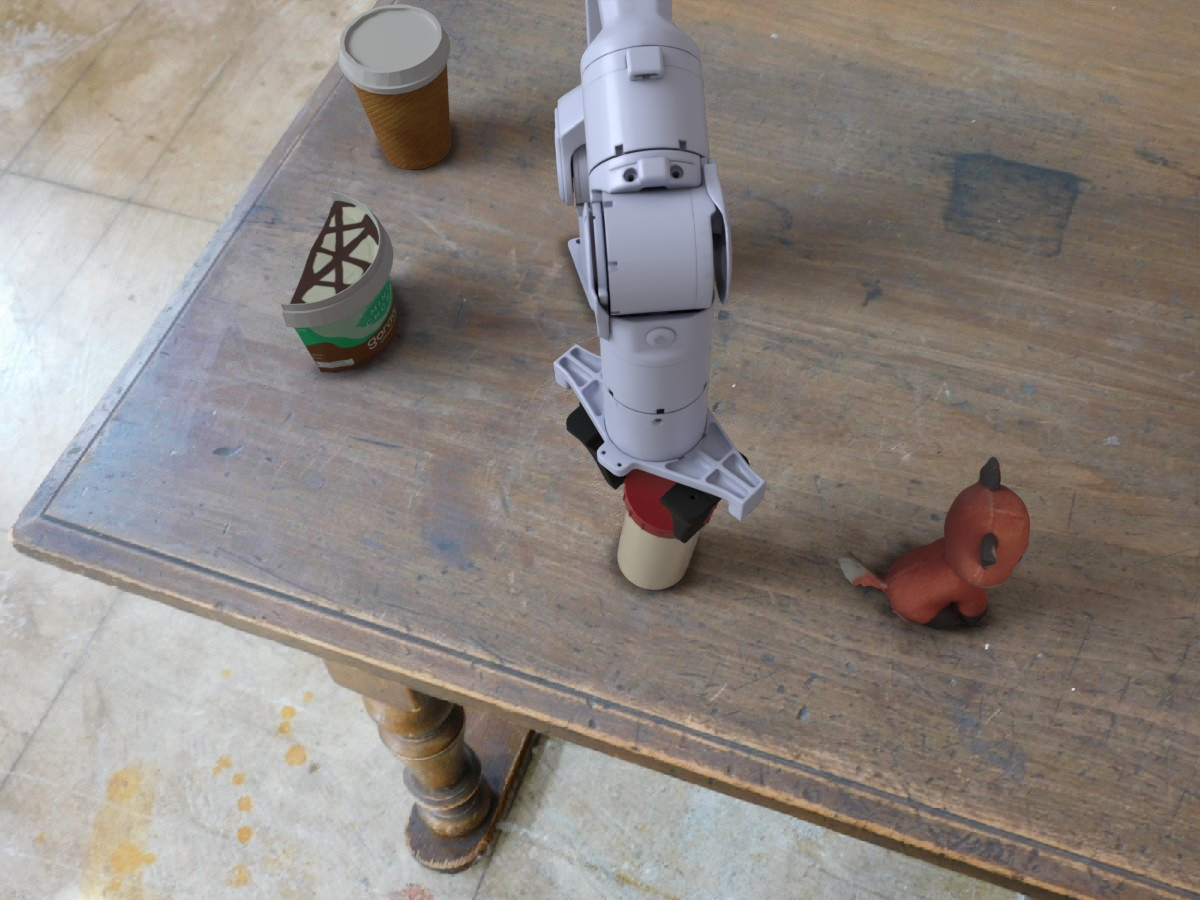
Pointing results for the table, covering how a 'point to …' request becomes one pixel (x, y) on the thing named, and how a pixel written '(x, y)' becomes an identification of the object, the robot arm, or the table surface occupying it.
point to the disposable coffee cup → (401, 81)
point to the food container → (346, 290)
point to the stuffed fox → (956, 558)
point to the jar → (652, 557)
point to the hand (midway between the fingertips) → (655, 503)
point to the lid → (650, 503)
